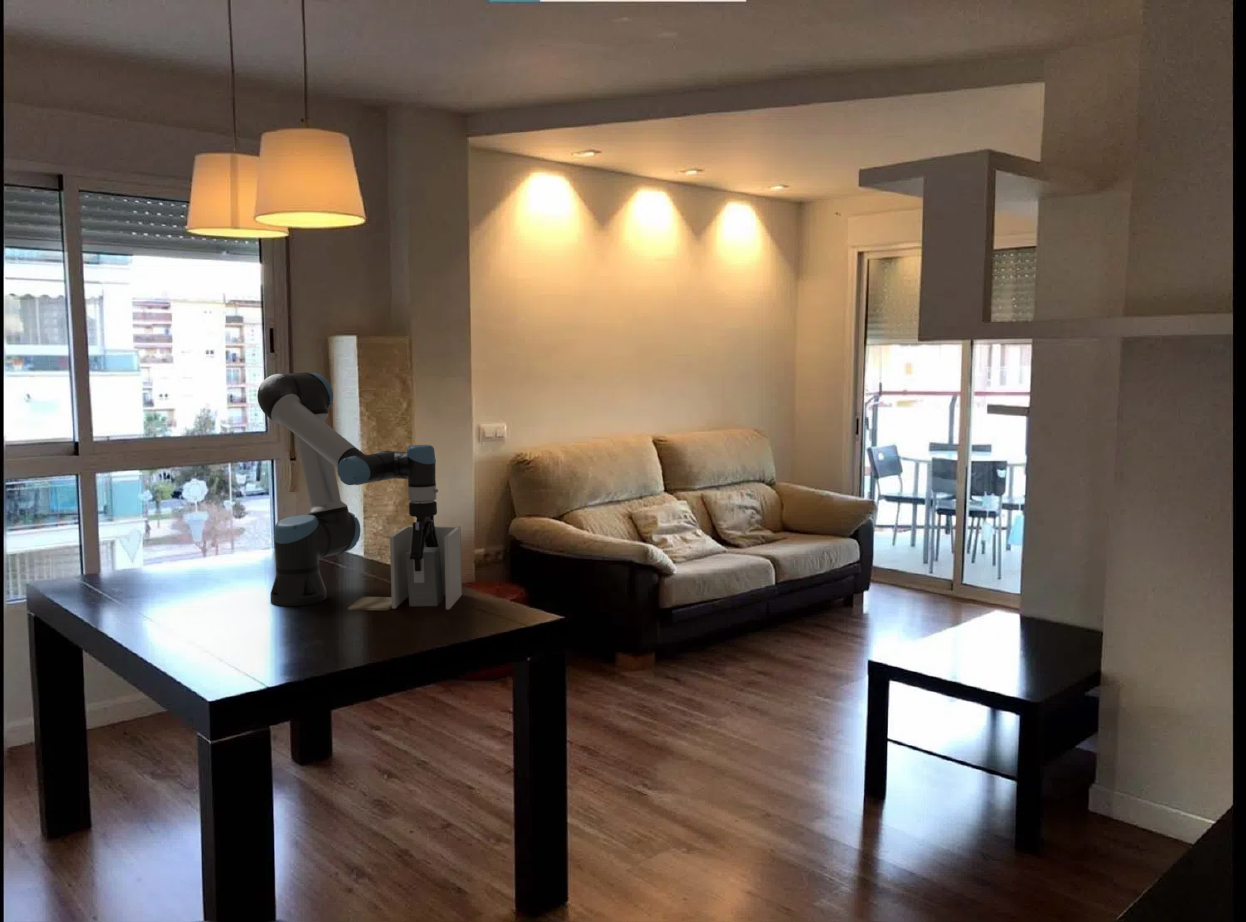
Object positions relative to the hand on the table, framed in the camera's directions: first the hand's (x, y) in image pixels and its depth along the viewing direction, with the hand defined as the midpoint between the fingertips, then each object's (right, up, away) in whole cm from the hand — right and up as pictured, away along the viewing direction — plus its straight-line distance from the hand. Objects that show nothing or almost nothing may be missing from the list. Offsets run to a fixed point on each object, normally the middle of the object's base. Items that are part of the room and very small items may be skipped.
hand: (425, 576), depth 279 cm
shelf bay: (0, -7, +4) cm, 8 cm away
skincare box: (0, -8, +1) cm, 8 cm away
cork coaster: (-14, -8, +1) cm, 16 cm away
